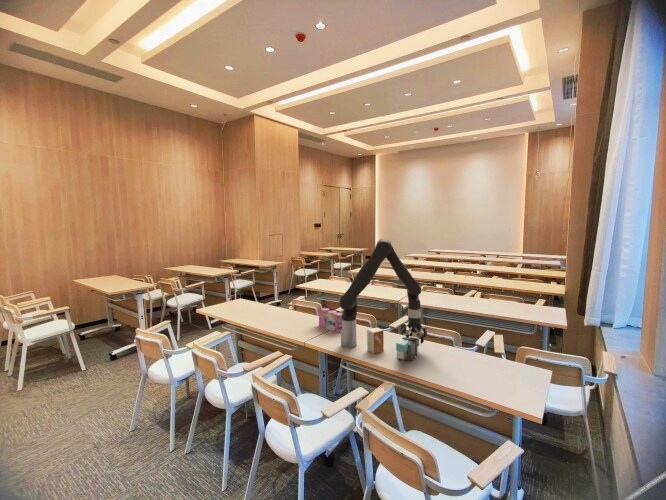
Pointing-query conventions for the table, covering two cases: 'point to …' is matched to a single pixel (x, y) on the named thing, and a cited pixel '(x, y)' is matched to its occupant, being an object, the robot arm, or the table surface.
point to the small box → (375, 340)
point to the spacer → (402, 346)
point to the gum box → (330, 319)
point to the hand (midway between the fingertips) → (414, 341)
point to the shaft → (404, 354)
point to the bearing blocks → (411, 348)
